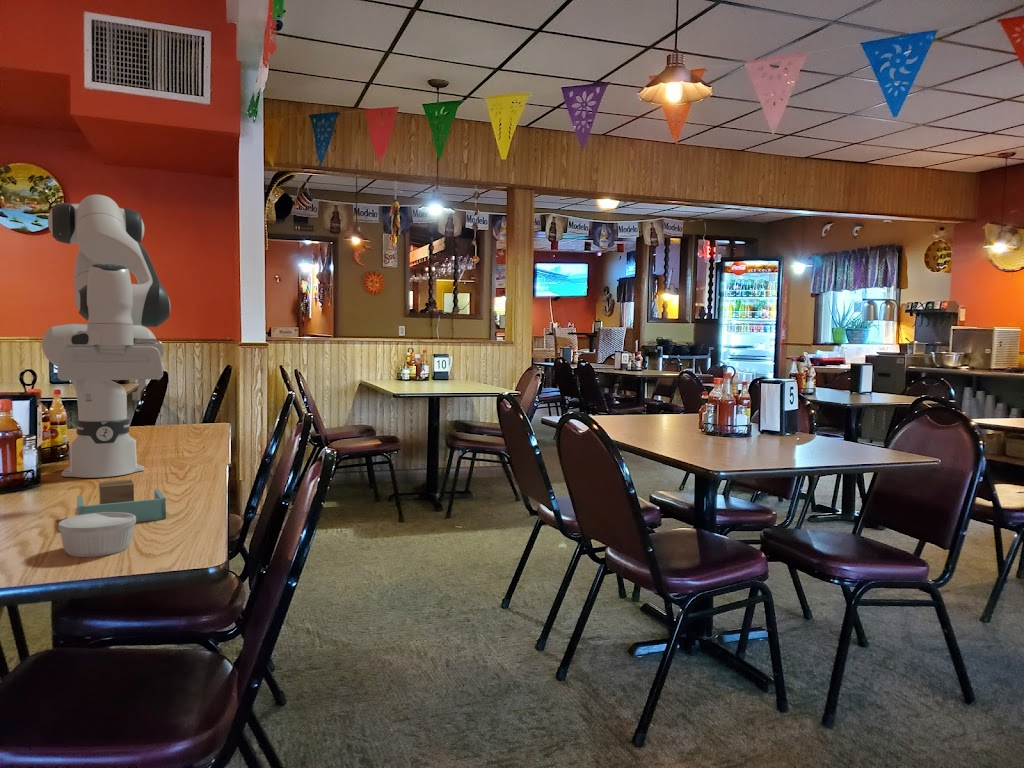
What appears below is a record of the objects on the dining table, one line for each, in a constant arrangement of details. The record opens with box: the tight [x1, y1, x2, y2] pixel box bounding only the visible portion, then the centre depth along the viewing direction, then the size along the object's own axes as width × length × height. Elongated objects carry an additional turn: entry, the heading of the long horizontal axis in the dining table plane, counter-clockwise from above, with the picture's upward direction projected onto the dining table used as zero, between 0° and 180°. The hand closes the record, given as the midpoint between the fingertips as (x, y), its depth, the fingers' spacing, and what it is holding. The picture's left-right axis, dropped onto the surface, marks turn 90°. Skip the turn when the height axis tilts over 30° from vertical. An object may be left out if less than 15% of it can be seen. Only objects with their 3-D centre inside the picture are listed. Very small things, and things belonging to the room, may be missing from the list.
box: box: [76, 488, 167, 523], centre depth 140 cm, size 11×15×4 cm
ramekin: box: [57, 512, 137, 558], centre depth 119 cm, size 11×11×5 cm
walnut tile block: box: [98, 479, 135, 504], centre depth 150 cm, size 6×6×5 cm
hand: (112, 400), depth 156 cm, fingers open, 8 cm apart
